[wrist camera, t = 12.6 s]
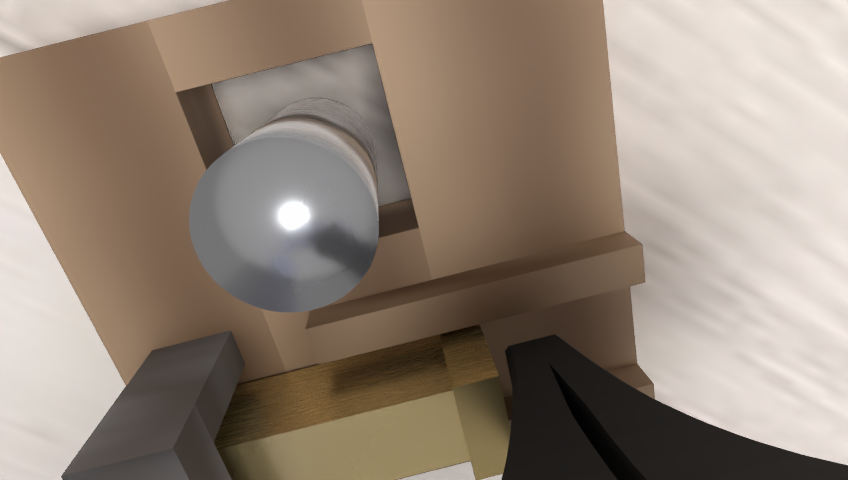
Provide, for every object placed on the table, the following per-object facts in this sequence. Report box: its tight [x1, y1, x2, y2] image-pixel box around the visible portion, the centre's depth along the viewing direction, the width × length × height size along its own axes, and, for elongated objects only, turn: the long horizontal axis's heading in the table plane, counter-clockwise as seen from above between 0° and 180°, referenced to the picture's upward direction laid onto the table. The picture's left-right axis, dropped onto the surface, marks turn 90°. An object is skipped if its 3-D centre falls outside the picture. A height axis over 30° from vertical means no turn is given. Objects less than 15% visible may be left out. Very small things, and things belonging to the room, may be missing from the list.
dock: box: [0, 0, 655, 480], centre depth 12 cm, size 13×12×6 cm
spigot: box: [189, 98, 379, 313], centre depth 11 cm, size 3×3×6 cm
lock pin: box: [214, 324, 511, 480], centre depth 12 cm, size 8×3×3 cm, turn 103°
